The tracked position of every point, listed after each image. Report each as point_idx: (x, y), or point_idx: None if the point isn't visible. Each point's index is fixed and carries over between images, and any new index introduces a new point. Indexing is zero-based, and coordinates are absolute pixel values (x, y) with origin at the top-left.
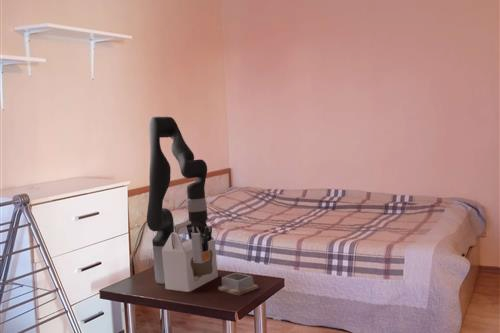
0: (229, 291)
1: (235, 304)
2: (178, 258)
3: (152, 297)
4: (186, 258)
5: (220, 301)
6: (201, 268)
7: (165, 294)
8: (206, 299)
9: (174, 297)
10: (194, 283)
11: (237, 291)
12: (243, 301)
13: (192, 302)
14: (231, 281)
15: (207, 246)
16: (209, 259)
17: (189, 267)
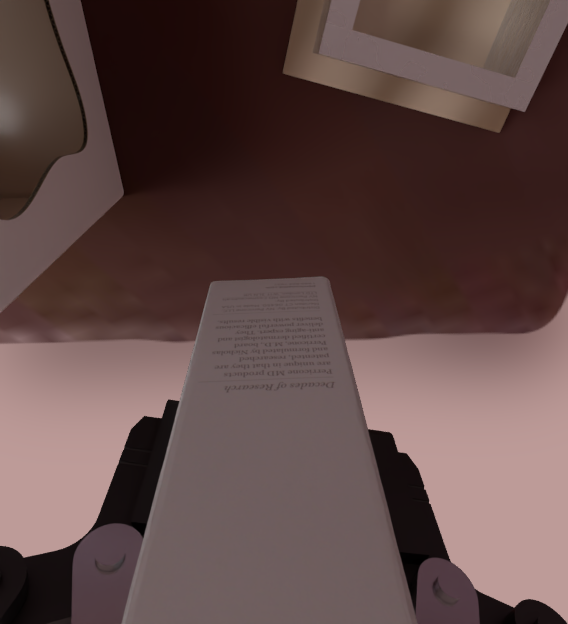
0: (405, 106)
1: (520, 261)
2: None
3: (8, 333)
4: (2, 306)
5: (415, 254)
6: None
7: None
8: (317, 257)
9: (119, 294)
10: (95, 135)
11: (481, 112)
12: (553, 208)
13: None
14: (441, 88)
15: (425, 505)
16: (328, 285)
17: (45, 226)
